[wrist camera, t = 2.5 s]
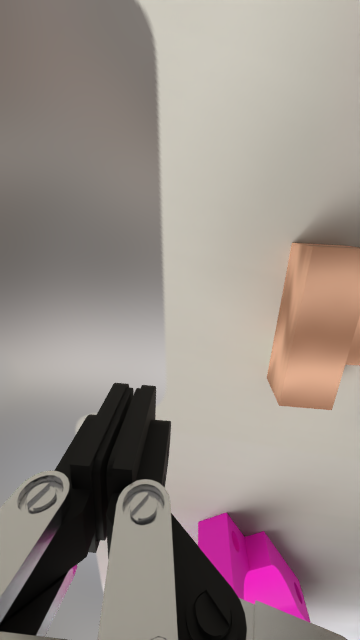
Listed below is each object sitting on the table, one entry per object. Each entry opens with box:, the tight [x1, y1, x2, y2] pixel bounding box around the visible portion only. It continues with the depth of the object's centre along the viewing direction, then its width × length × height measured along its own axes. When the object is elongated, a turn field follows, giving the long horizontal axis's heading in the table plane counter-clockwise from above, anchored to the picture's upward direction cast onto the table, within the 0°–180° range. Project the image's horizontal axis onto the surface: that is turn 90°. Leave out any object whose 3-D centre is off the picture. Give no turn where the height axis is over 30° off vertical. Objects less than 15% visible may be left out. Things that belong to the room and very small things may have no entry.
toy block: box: [198, 513, 311, 623], centre depth 29 cm, size 15×6×8 cm, turn 31°
